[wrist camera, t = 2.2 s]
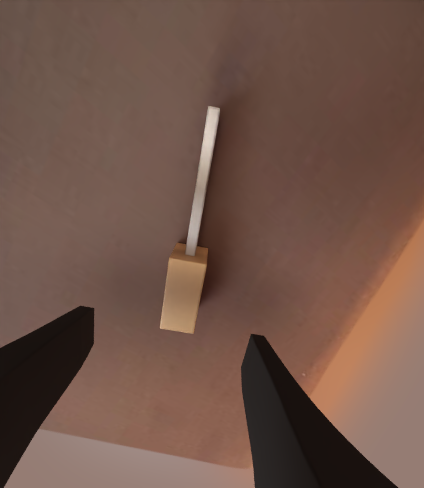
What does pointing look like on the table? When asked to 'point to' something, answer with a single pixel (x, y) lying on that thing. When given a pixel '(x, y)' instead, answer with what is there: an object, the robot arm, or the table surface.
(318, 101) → the table surface
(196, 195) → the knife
